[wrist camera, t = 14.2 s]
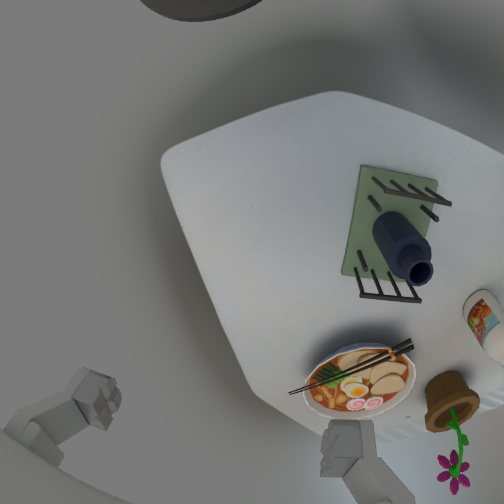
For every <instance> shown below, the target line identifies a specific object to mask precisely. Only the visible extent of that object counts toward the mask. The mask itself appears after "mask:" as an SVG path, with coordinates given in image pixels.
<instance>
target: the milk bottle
mask: <svg viewBox="0 0 504 504" xmlns="http://www.w3.org/2000/svg"><path fill="white" fill-rule="evenodd" d="M463 315H464V318H465V320H466V321H467V323H468V325H469V326H470V328H471V330H472V331H473V333H474V335H475V336H476V338H477V340H478V341H479V343H480V345H481V347H482V348H483V350H484V351H485V353H486V354H487V355H488V357H489V358H491V359H492V360H493V361H495V362H497V363H499V364H500V365H502V366H503V367H504V309H503V308H502V307H501V305H500V304H499V303H498V302H497V300H496V299H495V298H494V297H493V295H492V294H491V293H490V292H489V291H486V290H480V291H477V292H475V293H474V294H473V295H471V296H470V297H469V299H468V300H467V301H466V303H465V306H464V309H463Z"/></svg>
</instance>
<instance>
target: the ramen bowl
mask: <svg viewBox="0 0 504 504" xmlns="http://www.w3.org/2000/svg"><path fill="white" fill-rule="evenodd" d="M410 343H412V341H411V338H409V339H407V340H405V341H404V342H402V343H400V344H398V345H396V346H394V347H392V348H391V347H389V346H386V345H384V344H381V343H356V344H353V345H349V346H345V347H342V348H340V349H338V350H337V351H335V352H333V353H332V354H330V355H328V356H327V357H325V358H324V359H322V360H321V361H320V362H319V364H318V365H317V366H316V367H315V368H314V370H313V371H312V372H311V373H310V374H309V376H308V377H307V378H306V380H305V383H304V387H302V388H299V389H297V390H300V389H303V388H304V389H303V390H301V391H298V392H302V391H303V397H304V399H305V401H306V403H307V405H308V407H309V408H311V409H312V410H314V411H315V412H317V413H318V414H320V415H321V416H325V417H329V418H333V419H353V420H359V419H364V418H368V417H372V416H376V415H379V414H381V413H383V412H385V411H387V410H389V409H391V408H393V407H394V406H396V405H397V404H398V403H399V402H400V401H402V400H403V399H404V398H405V397H406V396H407V395H408V394H409V392H410V390H411V389H412V387H413V385H414V383H415V380H416V373H415V365H414V364H413V363H412V362H411V360H410V359H409V358H408V357H407V356H406V355H405V354H404V353H406V352H408V351H411V350H413V349H414V346H413V344H412V345H410V346H408V347H406V348H404V349H402V350H400V351H399V350H398V349H400V348H402V347H404V346H406V345H408V344H410ZM297 390H294V391H297ZM294 391H291V392H294ZM291 392H289V393H291ZM298 392H295V393H298ZM295 393H292V394H295ZM290 395H291V394H290Z"/></svg>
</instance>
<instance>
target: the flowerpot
mask: <svg viewBox="0 0 504 504" xmlns="http://www.w3.org/2000/svg"><path fill="white" fill-rule="evenodd" d="M425 392H426V400H427V408H428V412H427V414H426V415H425V424H426V428H427V430H429V431H431V432H434V433H435V432H442V431H447V430H450V429H454V430H456V431H457V435H458V442H459V457H458V454H457V452H456V451H455V450H452V452H451V454H450V461H449V460H448V459H447V458H446V457H444V456H441V455H439V456H438V457H437V458H438V461H439V464H440V465H441V466H443V467H444V468H446V469H449V471H444V472H442V473H440V474H439V475H438V477H437V480H438V481H440V482H444V481H446V480H448V479H449V478H450V476H451V477H452V480H451V482H450V490H451V492H452V494H453V495H456V493H457V491H458V489H459V483H461V484H462V485H463V486H465V487H469V486H470V482H469V479H468V478H467V477H466V476H465V475H463V474H460V472H464V471H466V470H467V469H468V468H469V466H470V465H469V463H467V462H464V463H461V462H462V455H463V445H465V446H466V445H469V442H468V439H467V436H466V435H464V434H461V431H460V427H459V425H461V424H462V423H464V422H465V421H466V420H468V419H469V418H471V417H472V415H473V414H474V413H475V412H476V411H477V409H478V408H479V403H480V398H479V396H478V394H477V393H476V392H475V391H473V390H472V389H469V387H468V386H467V384H466V382H465V381H464V379H463V378H462V376H461V374H459V373H458V372H457V371H446V372H444V373H442V374H439V375H437V376H436V377H435V378H434V379H432V380H431V381H430V382H429V383H428V385H427V387H426V388H425ZM450 462H451V463H452V466H451V464H450ZM457 463H458V464H457ZM456 465H457V466H456ZM457 477H458V480H459V483H458V480H457Z"/></svg>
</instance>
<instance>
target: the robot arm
mask: <svg viewBox="0 0 504 504" xmlns="http://www.w3.org/2000/svg"><path fill="white" fill-rule="evenodd" d="M116 385H117V382H116V380H115V378H113V377H110V376H107V375H104V374H101V373H98V372H96V371H94V370H91V369H88V368H86V367H81V368H80V369H78V371H77V372H76V374H75V375H74V376H73V378H72V379H71V380H70V382H69V383H68V384H67V386H66V387H65V388H64V390H63V391H62V393H60V392H58V393H55V394H53V395H51V396H48V397H46V398H44V399H42V400H40V401H37V402H35V403H32V404H30V405H28V406H25V407H23V408H21V409H18V410H17V411H16V413H15V414H14V415H13V417H12V418H11V419H10V421H9V422H8V424H7V425H6V426H5V428H4V429H3V430H1V429H0V504H133V503H130V502H128V501H126V500H123V499H120V498H118V497H115V496H113V495H111V494H109V493H107V492H104V491H102V490H100V489H98V488H96V487H93V486H91V485H89V484H87V483H85V482H83V481H81V480H79V479H77V478H75V477H74V476H72V475H70V474H68V473H66V472H64V471H63V470H61V469H59V468H58V467H59V465H60V463H61V461H62V460H63V457H64V453H63V452H62V451H61V450H60V449H59V448H58V447H57V445H59V444H60V443H62V442H64V441H65V440H67V439H69V438H70V437H72V436H73V435H75V434H77V433H78V432H80V431H81V430H83V429H84V428H86V427H87V426H89V425H92V426H94V427H97V428H99V429H102V430H105V431H107V429H108V427H109V425H110V423H111V422H112V420H113V418H112V414H113V413H114V412H116V411H118V409H119V407H120V404H121V400H122V398H121V392H120V390H119V389H118V388H116ZM321 453H322V454H323V455H324V457H323V459H322V461H321V470H320V477H343V478H342V479H343V481H344V482H345V484H346V486H347V487H348V489H349V490H350V492H351V494H352V495H353V497H354V498H355V500H356V502H357V503H358V504H415V496H414V495H413V494H412V493H411V492H410V491H409V490H408V489H407V487H406V486H405V485H404V484H403V483H402V482H401V481H400V479H399V478H398V477H397V476H396V475H395V474H394V473H393V471H392V470H391V469H390V468H389V467H388V466H387V464H386V463H385V462H384V461H383V460H382V458H381V457H380V458H379V457H377V452H376V442H375V434H374V426H373V422H372V420H353V419H331V420H330V422H329V424H328V429H326V430H325V432H324V434H323V438H322V444H321Z"/></svg>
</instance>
